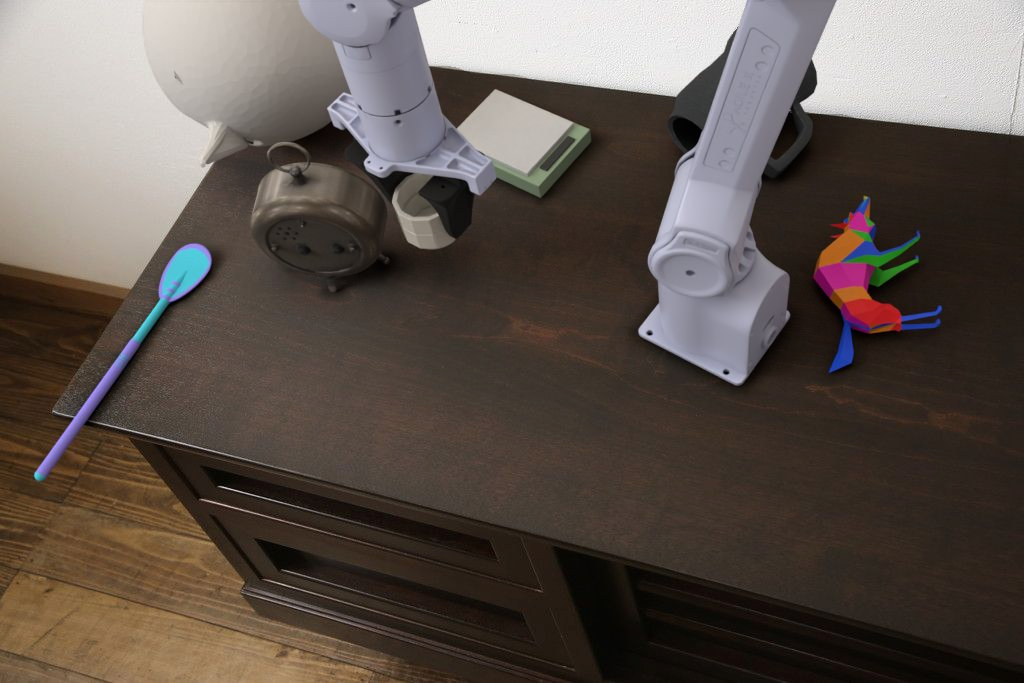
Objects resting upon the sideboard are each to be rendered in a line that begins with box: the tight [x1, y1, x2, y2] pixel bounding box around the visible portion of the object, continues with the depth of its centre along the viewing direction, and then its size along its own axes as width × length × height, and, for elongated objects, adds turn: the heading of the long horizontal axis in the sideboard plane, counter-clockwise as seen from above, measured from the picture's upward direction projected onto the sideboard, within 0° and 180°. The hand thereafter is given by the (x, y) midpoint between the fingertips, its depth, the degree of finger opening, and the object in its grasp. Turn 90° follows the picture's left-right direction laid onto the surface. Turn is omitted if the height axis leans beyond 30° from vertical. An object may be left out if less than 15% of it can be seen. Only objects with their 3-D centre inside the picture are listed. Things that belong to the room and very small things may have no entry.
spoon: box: [33, 242, 213, 482], centre depth 93 cm, size 25×4×1 cm, turn 156°
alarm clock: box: [249, 141, 390, 293], centre depth 89 cm, size 11×5×16 cm, turn 84°
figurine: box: [813, 195, 943, 374], centre depth 85 cm, size 4×15×9 cm
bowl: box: [391, 173, 457, 250], centre depth 86 cm, size 5×5×4 cm
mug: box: [667, 26, 818, 179], centre depth 94 cm, size 12×9×11 cm
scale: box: [456, 89, 592, 199], centre depth 100 cm, size 11×8×2 cm
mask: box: [141, 0, 351, 168], centre depth 100 cm, size 22×18×20 cm
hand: (432, 215), depth 86 cm, fingers closed on bowl, 5 cm apart
